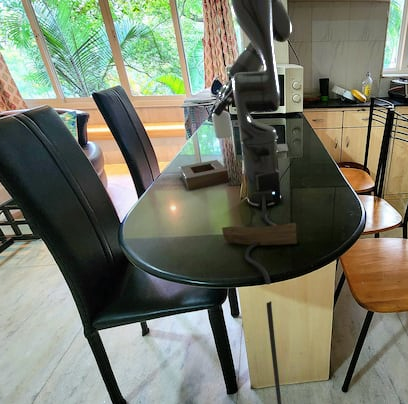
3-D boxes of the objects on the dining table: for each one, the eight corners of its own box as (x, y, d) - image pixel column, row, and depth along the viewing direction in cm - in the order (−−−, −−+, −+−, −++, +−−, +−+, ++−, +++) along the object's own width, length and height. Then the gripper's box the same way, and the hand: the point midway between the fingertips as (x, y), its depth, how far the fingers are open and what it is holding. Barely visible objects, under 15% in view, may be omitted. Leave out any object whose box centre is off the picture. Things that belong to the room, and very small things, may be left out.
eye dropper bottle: (217, 135, 98) (210, 99, 92) (233, 134, 98) (228, 98, 92) (214, 139, 94) (207, 100, 88) (231, 137, 94) (225, 99, 88)
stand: (229, 181, 94) (227, 170, 93) (188, 190, 89) (186, 178, 87) (218, 170, 105) (217, 159, 103) (182, 177, 99) (179, 166, 97)
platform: (288, 150, 123) (288, 135, 120) (247, 153, 122) (245, 138, 119) (286, 143, 134) (286, 129, 131) (248, 146, 132) (246, 132, 129)
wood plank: (296, 239, 62) (295, 220, 60) (296, 245, 61) (295, 225, 58) (227, 242, 63) (223, 223, 60) (225, 248, 61) (221, 228, 58)
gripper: (229, 60, 94) (199, 103, 94) (244, 60, 83) (209, 108, 83) (246, 77, 99) (217, 117, 99) (262, 78, 87) (229, 124, 88)
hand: (214, 113), depth 91 cm, fingers closed on eye dropper bottle, 3 cm apart
